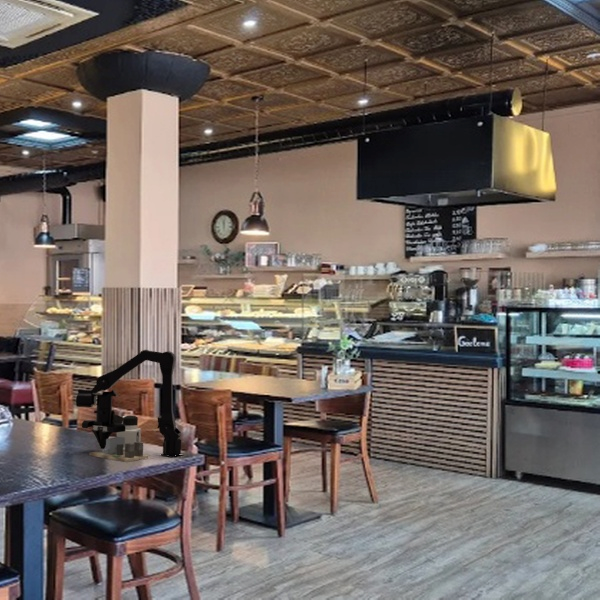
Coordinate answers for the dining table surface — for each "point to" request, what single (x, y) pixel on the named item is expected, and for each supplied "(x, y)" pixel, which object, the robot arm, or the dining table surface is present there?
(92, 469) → the dining table surface
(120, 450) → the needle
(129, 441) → the container
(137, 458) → the gauge board
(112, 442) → the grey rectangular block
